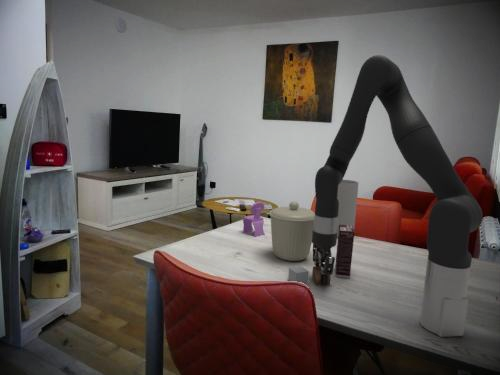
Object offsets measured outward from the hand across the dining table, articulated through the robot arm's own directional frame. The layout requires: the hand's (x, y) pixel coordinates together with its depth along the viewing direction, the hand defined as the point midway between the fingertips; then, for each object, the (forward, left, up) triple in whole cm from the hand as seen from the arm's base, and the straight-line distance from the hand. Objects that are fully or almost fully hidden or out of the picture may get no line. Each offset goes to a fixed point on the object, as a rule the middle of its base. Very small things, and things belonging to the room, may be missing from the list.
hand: (320, 280), depth 114 cm
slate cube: (0, +7, -1) cm, 8 cm away
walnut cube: (0, 0, -1) cm, 1 cm away
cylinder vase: (+50, -26, -1) cm, 56 cm away
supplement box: (+7, -10, -1) cm, 12 cm away
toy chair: (+52, +14, -1) cm, 54 cm away
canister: (+23, +4, -1) cm, 23 cm away
